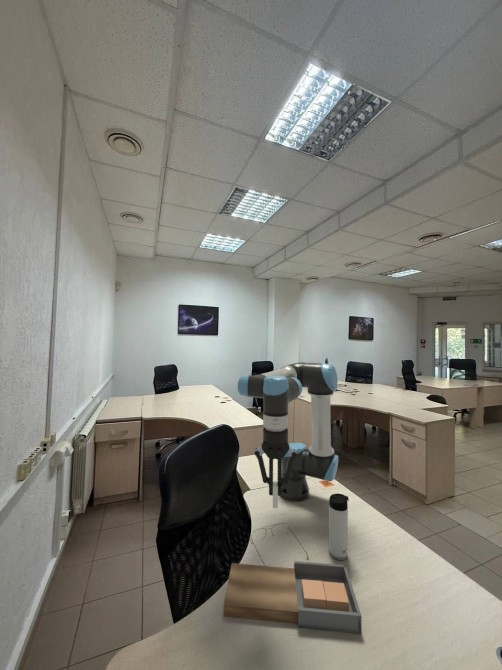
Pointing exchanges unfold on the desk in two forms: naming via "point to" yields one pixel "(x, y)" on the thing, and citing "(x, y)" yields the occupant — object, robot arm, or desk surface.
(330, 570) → the tray
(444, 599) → the desk surface
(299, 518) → the desk surface
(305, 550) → the eyeglasses
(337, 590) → the tile
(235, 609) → the wooden plank
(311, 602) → the tile
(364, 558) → the desk surface
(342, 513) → the travel mug
